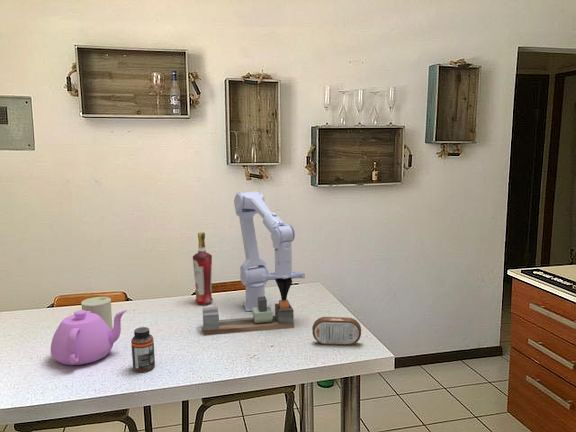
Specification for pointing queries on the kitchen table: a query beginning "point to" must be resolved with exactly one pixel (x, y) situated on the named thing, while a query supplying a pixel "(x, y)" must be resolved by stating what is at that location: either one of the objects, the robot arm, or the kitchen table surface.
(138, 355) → the supplement bottle
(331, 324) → the tin
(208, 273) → the liquor
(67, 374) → the kitchen table surface
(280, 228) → the robot arm
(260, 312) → the carriage
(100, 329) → the teapot
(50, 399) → the kitchen table surface
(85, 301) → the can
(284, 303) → the button
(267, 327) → the rail base
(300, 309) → the kitchen table surface
